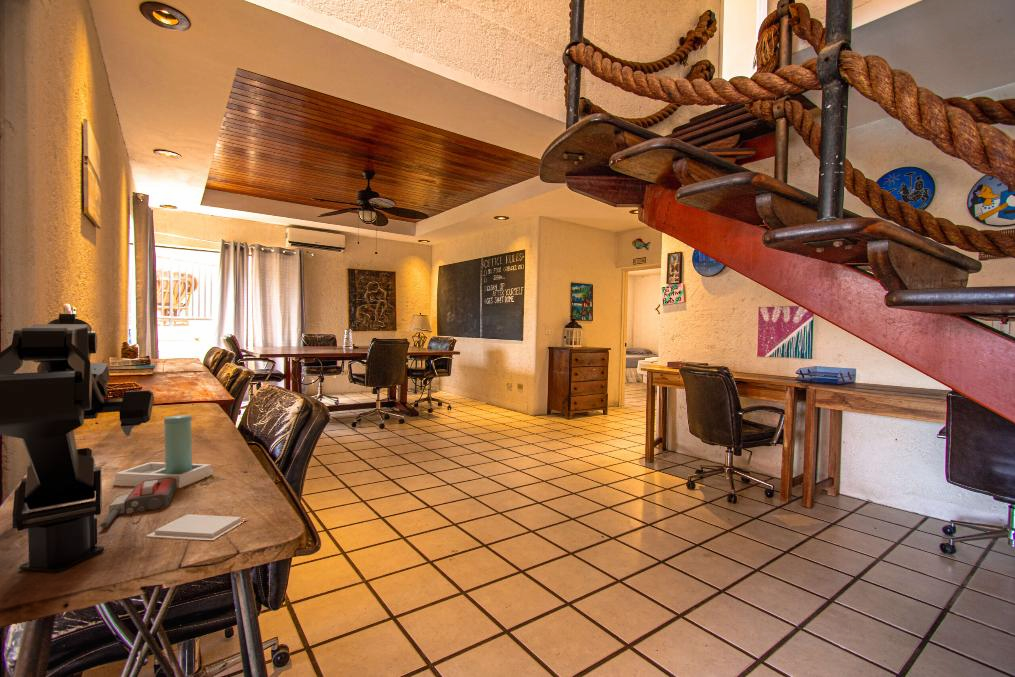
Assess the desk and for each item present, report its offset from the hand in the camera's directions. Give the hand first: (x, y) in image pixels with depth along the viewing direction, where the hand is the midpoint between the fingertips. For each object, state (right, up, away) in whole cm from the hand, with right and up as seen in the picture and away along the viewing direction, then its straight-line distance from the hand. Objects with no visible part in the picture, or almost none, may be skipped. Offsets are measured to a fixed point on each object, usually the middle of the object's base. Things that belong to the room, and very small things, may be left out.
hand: (97, 436), depth 83 cm
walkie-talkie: (+8, -14, +1) cm, 16 cm away
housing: (0, -13, +16) cm, 21 cm away
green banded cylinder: (+4, -12, +16) cm, 20 cm away
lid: (+25, -14, -8) cm, 30 cm away
